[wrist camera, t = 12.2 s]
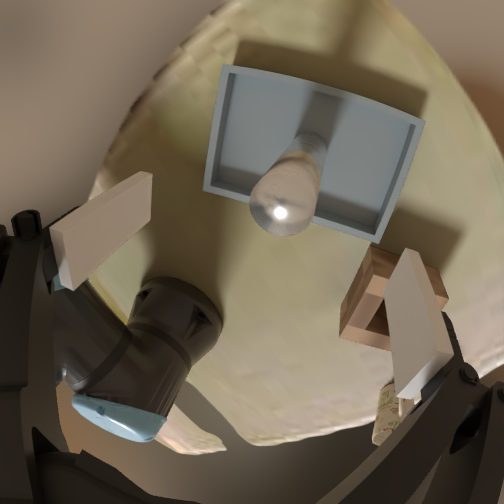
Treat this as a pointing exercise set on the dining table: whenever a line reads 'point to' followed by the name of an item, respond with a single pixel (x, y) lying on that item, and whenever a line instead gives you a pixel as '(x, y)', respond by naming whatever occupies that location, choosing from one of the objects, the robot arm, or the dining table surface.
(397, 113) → the slate tray
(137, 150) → the dining table surface
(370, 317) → the wooden hollow square frame
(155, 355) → the robot arm
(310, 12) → the dining table surface
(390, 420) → the mug
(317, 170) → the steel pin
